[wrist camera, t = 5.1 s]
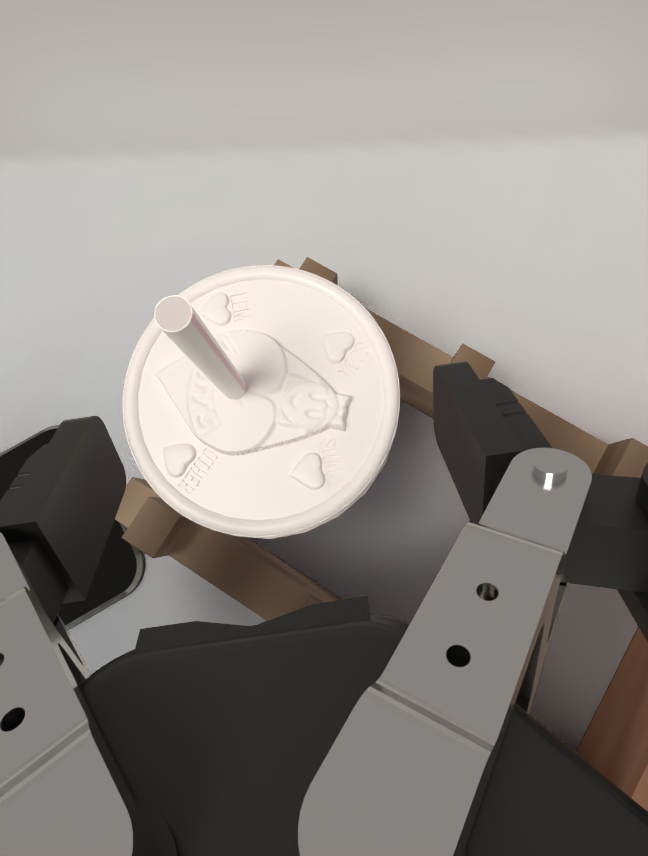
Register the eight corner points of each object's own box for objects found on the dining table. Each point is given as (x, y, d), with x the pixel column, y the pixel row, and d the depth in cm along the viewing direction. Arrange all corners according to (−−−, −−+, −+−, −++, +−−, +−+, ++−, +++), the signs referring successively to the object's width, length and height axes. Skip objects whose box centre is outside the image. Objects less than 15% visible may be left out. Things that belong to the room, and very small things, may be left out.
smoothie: (239, 361, 22) (63, 90, 8) (390, 390, 21) (474, 158, 8) (202, 512, 21) (-75, 497, 7) (359, 546, 20) (392, 604, 7)
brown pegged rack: (140, 515, 21) (86, 513, 16) (286, 293, 22) (272, 237, 18) (648, 849, 18) (745, 955, 14) (777, 573, 20) (904, 589, 15)
